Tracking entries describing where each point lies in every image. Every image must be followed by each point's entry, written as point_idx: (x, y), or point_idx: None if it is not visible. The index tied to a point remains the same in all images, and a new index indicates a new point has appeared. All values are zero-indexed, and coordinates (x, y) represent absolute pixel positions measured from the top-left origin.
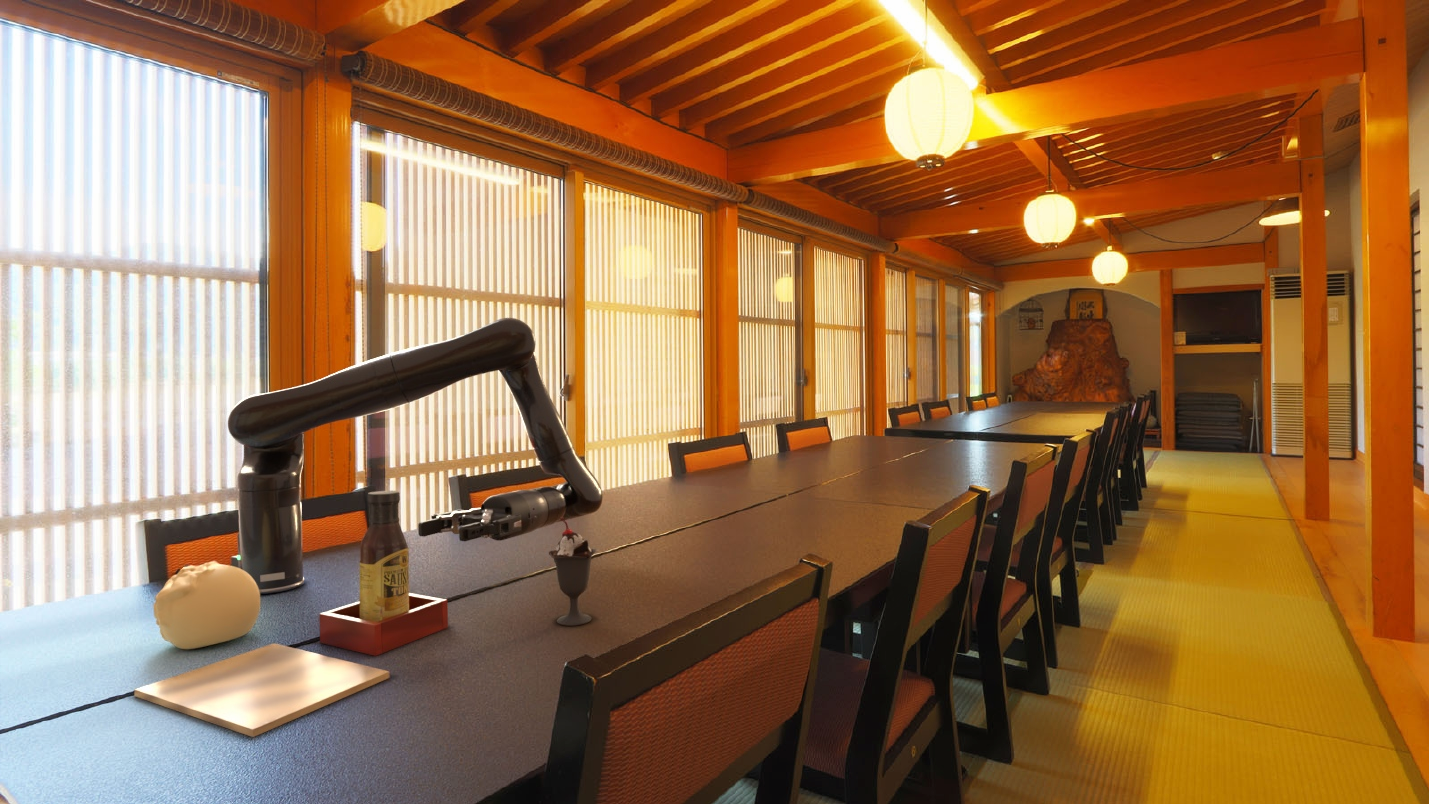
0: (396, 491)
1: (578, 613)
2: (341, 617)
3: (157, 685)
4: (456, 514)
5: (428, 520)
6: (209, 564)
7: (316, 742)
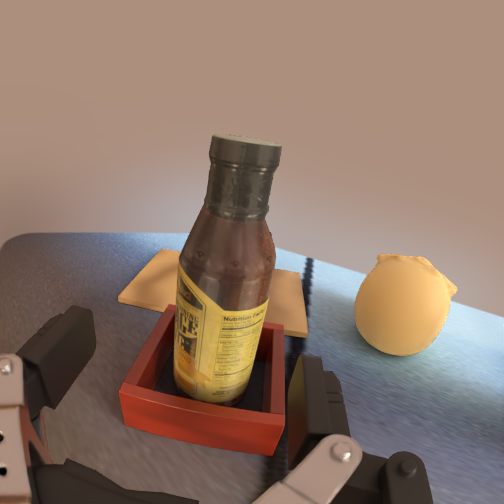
0: (226, 136)
1: None
2: None
3: (293, 276)
4: (263, 497)
5: (319, 385)
6: (419, 262)
7: (119, 251)
